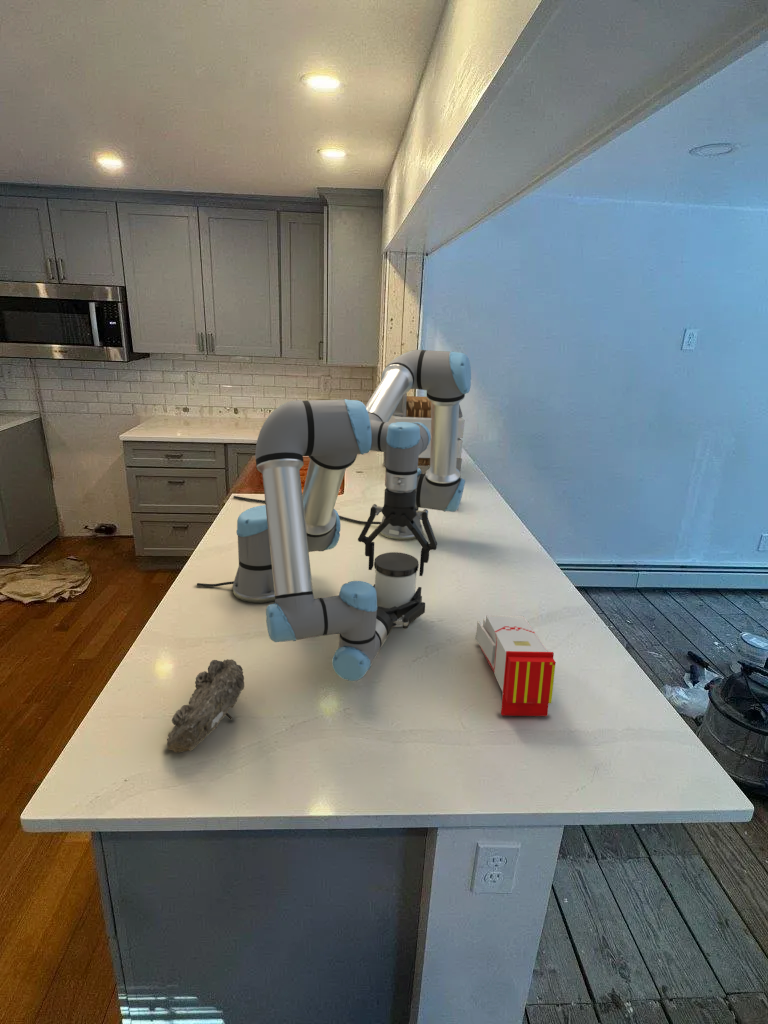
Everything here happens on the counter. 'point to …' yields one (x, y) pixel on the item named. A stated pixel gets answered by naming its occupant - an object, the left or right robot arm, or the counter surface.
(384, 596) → the jar
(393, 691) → the counter surface
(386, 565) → the lid
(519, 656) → the toy
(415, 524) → the right robot arm
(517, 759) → the counter surface
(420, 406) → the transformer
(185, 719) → the fossil
